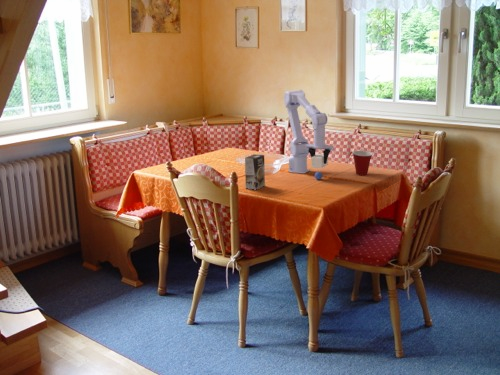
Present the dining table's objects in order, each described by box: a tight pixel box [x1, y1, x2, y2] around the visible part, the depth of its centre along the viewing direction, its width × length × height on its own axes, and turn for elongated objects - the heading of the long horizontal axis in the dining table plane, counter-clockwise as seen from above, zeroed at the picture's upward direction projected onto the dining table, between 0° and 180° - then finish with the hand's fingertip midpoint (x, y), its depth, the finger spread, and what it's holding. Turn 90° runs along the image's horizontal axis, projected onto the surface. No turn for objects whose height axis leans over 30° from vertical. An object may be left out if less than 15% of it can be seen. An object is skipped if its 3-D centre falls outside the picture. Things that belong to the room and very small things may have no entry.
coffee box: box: [244, 153, 266, 191], centre depth 311 cm, size 9×6×16 cm
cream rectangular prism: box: [310, 153, 329, 169], centre depth 323 cm, size 6×10×5 cm, turn 153°
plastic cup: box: [351, 150, 374, 176], centre depth 330 cm, size 11×11×12 cm
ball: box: [314, 171, 323, 180], centre depth 323 cm, size 4×4×4 cm
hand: (319, 162), depth 323 cm, fingers closed on cream rectangular prism, 6 cm apart
